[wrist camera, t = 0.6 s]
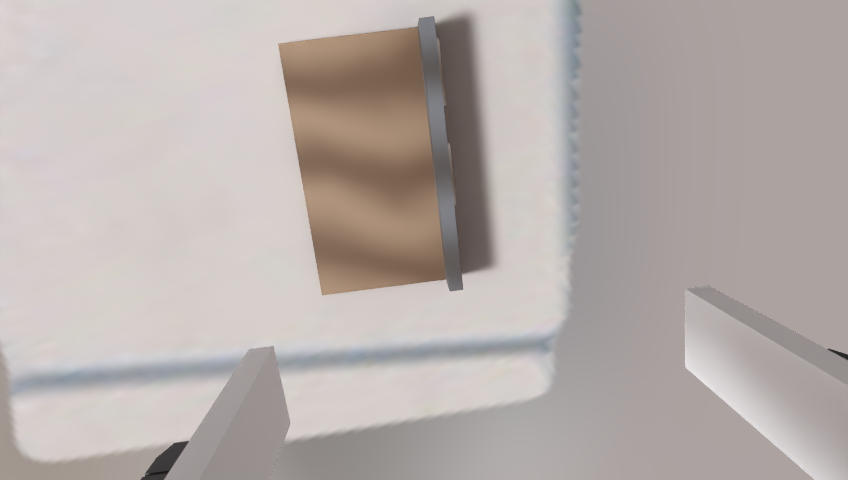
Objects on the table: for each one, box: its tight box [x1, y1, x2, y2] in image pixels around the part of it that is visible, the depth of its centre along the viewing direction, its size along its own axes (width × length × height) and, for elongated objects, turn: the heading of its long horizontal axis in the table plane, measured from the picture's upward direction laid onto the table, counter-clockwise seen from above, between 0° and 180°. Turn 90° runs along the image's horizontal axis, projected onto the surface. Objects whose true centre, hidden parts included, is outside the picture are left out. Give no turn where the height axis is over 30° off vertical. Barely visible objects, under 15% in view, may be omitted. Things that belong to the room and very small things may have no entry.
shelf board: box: [278, 16, 463, 295], centre depth 36 cm, size 19×11×4 cm, turn 7°
